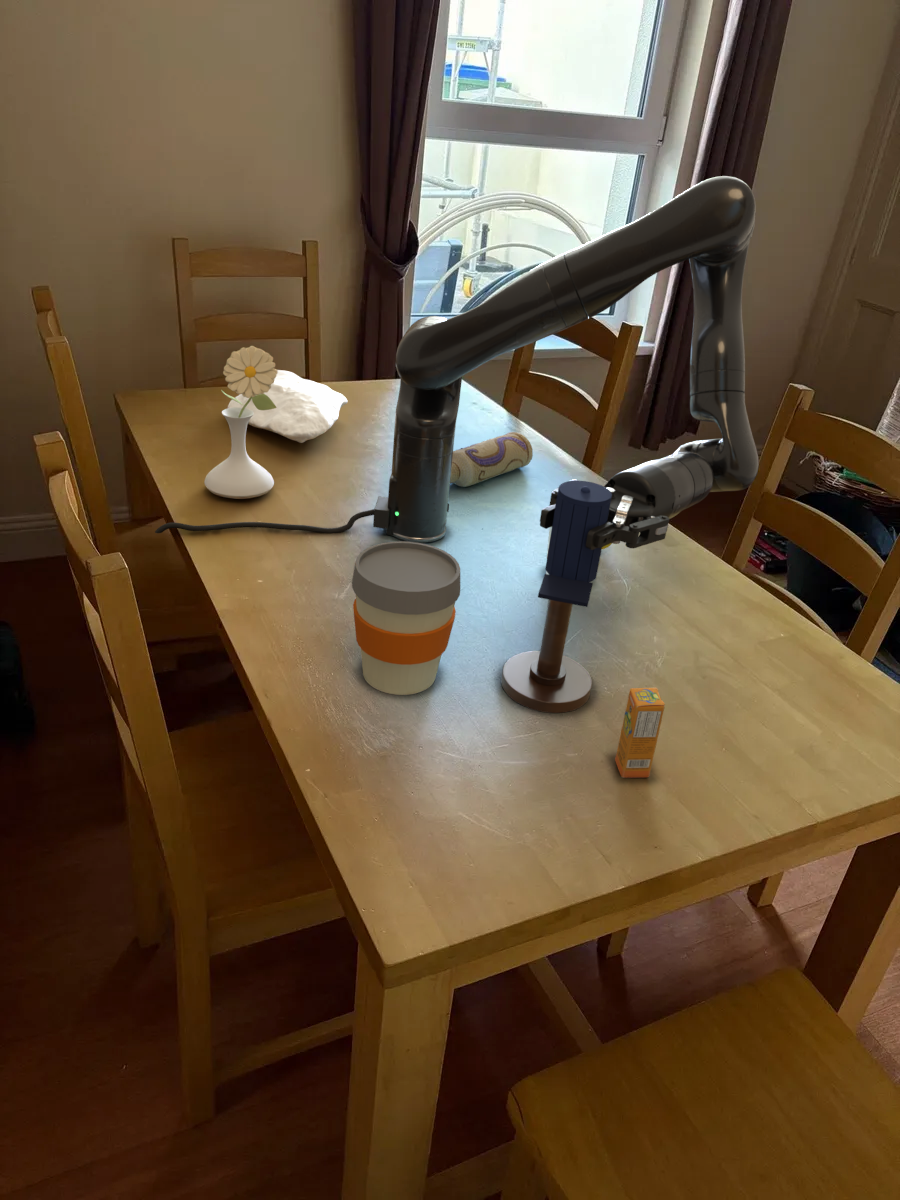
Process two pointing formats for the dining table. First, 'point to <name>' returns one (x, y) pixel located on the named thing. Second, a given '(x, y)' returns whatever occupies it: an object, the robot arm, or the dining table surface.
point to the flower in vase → (244, 426)
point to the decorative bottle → (490, 459)
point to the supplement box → (639, 732)
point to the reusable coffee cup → (403, 613)
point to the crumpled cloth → (296, 407)
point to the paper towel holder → (548, 669)
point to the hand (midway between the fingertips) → (566, 530)
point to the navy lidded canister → (574, 542)
